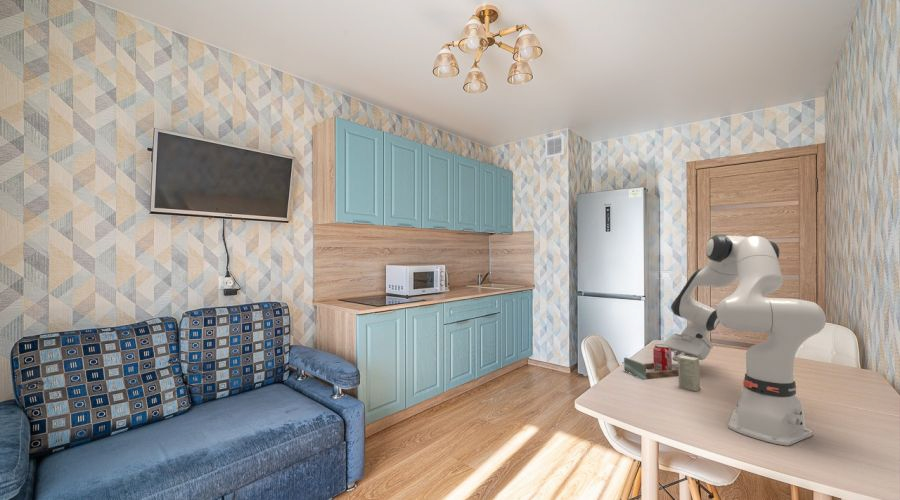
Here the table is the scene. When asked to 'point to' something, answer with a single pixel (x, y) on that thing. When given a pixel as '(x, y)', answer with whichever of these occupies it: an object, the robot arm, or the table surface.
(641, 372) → the can dock
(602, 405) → the table surface
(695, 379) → the skincare box
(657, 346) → the soda can
